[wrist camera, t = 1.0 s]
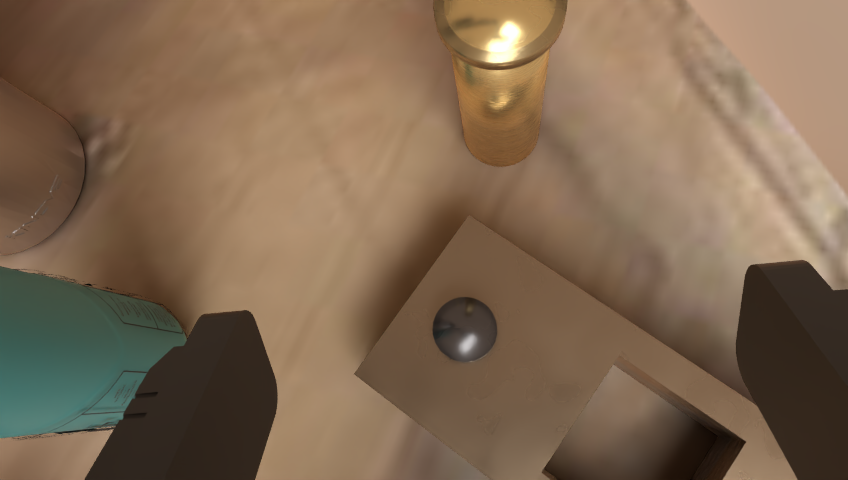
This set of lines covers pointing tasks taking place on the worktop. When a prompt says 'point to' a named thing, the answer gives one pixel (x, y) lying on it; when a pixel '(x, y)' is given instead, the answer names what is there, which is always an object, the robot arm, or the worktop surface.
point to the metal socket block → (539, 366)
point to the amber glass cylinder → (500, 70)
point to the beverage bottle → (73, 353)
